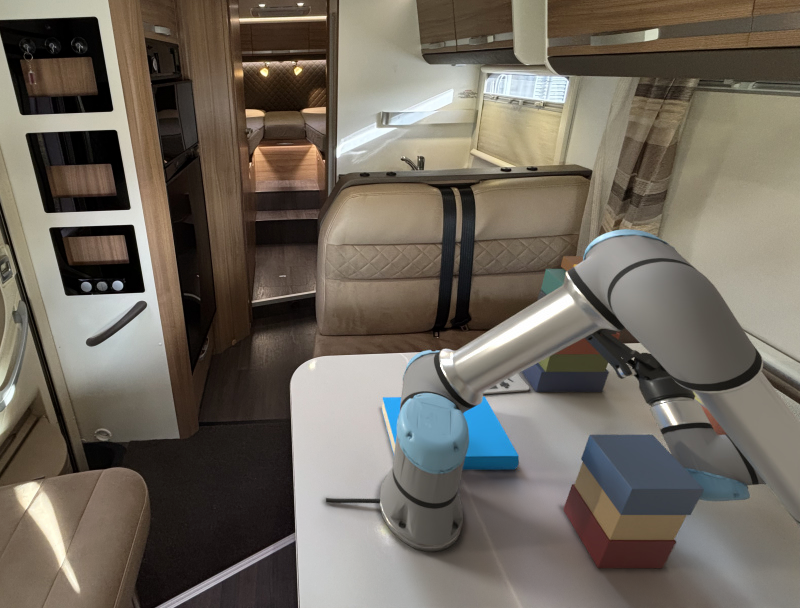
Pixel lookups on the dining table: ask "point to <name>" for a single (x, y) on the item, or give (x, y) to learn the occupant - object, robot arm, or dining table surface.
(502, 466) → the book
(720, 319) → the robot arm
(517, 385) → the handheld gaming device
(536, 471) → the dining table surface
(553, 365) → the book stack
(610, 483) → the low stack
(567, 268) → the yellow-banded brown plank
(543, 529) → the dining table surface
